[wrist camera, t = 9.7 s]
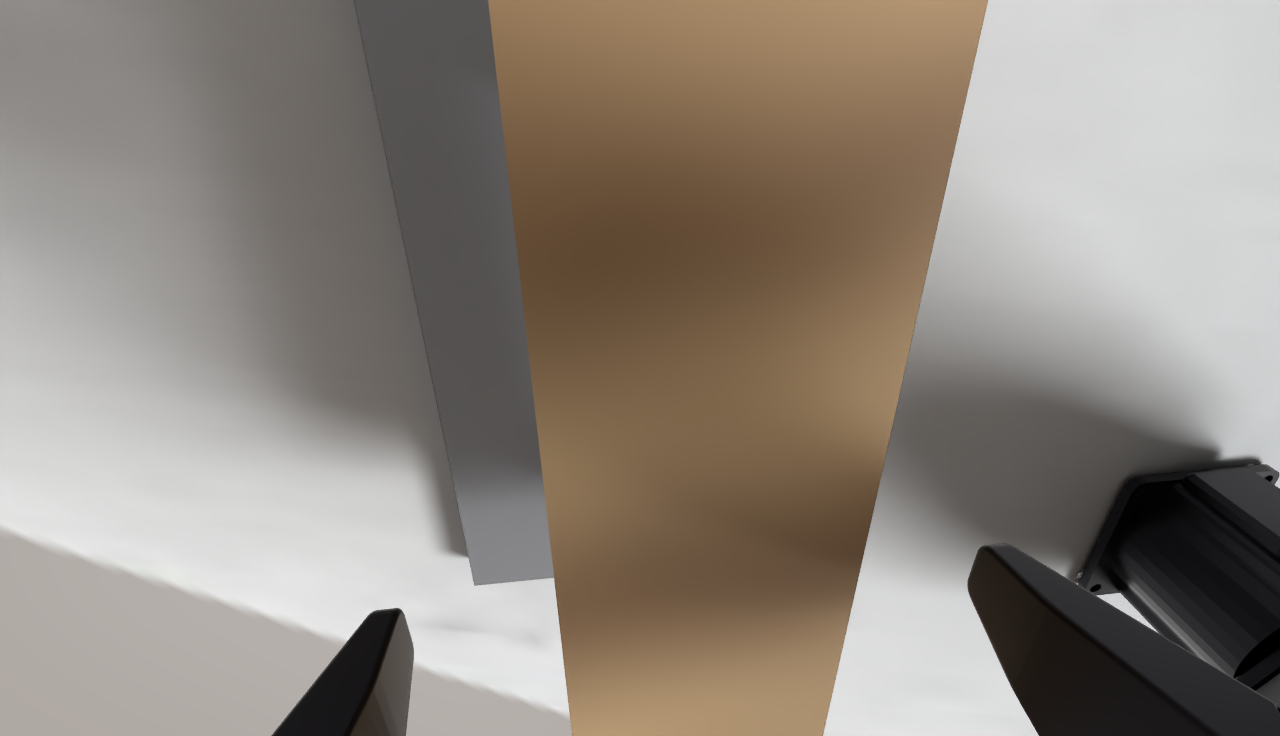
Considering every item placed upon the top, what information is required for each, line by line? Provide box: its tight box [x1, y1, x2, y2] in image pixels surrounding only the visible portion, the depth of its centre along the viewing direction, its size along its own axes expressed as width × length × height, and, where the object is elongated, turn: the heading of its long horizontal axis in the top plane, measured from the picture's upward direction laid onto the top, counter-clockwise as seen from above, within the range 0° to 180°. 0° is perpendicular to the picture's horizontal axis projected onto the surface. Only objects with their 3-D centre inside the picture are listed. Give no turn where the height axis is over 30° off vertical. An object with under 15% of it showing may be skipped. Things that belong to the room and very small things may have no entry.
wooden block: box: [488, 0, 988, 736], centre depth 12 cm, size 16×5×5 cm, turn 1°
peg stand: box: [354, 0, 554, 586], centre depth 17 cm, size 20×12×6 cm, turn 1°
